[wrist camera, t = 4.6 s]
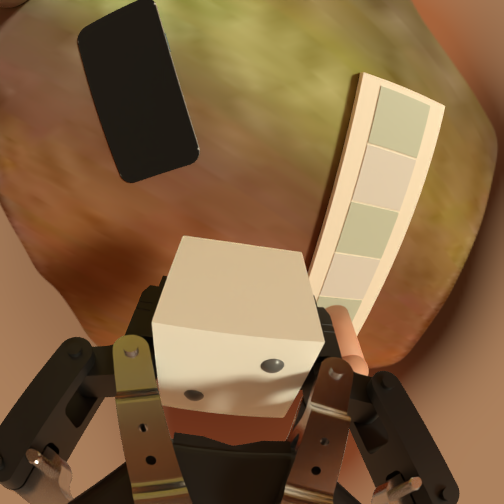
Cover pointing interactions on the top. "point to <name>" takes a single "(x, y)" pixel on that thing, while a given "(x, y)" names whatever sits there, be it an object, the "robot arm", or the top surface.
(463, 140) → the top surface
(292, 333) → the die
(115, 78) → the smartphone
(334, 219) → the board
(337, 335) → the pawn
